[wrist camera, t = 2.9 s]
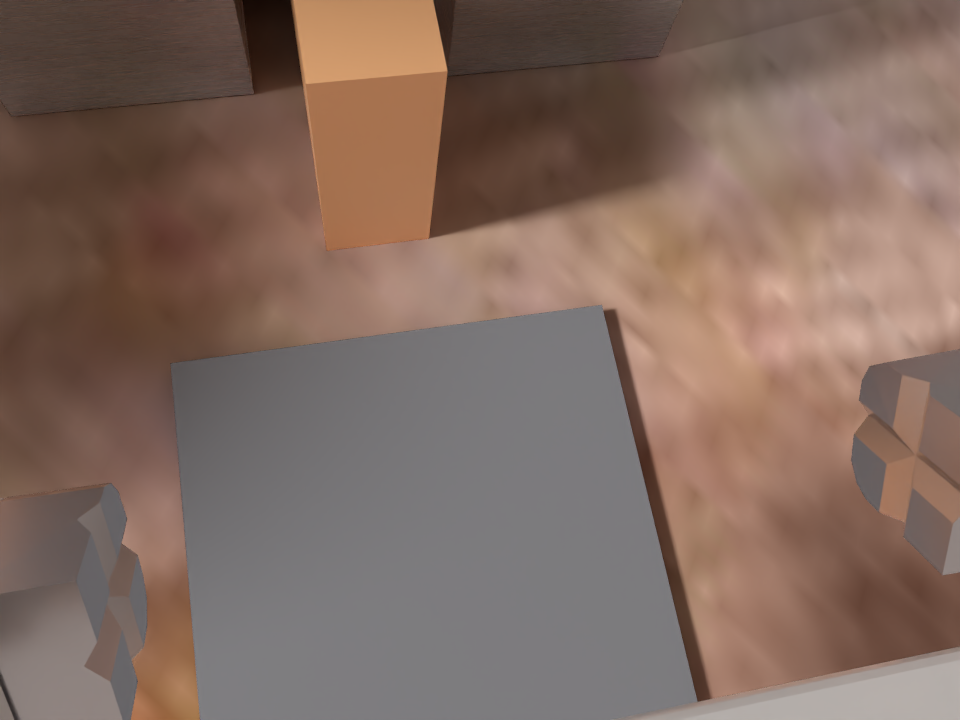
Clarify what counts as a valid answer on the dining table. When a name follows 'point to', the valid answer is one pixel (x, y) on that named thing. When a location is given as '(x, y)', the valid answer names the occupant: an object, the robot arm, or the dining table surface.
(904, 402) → the robot arm
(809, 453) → the dining table surface
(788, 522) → the dining table surface
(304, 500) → the mat
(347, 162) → the plug
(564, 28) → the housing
